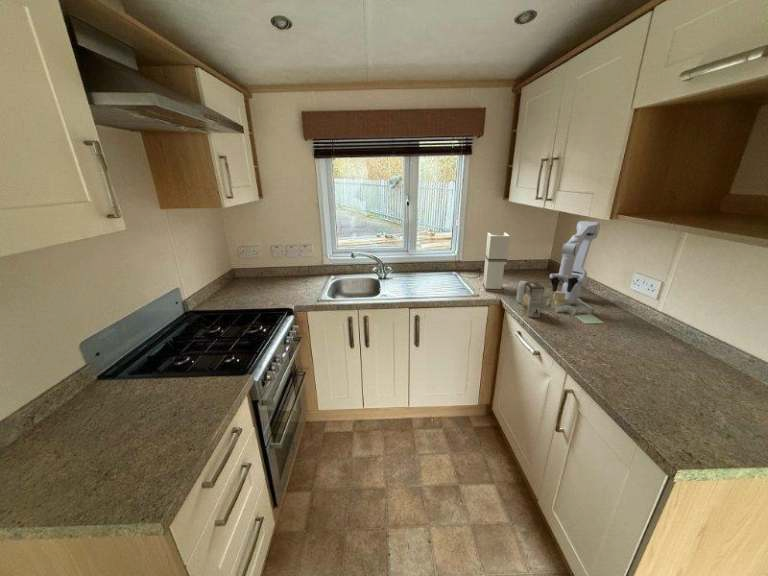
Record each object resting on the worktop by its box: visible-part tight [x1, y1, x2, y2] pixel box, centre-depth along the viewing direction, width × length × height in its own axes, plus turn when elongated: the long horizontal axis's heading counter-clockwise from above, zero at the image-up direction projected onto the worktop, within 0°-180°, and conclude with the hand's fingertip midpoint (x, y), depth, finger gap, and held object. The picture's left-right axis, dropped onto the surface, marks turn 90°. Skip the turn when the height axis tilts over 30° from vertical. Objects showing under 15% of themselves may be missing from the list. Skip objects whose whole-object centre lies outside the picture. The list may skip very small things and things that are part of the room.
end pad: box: [573, 314, 605, 325], centre depth 150 cm, size 9×9×1 cm
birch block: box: [550, 290, 566, 310], centre depth 162 cm, size 4×4×9 cm
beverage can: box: [515, 280, 528, 304], centre depth 171 cm, size 6×6×12 cm
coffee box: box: [521, 281, 545, 318], centre depth 156 cm, size 9×6×16 cm
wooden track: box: [546, 298, 595, 316], centre depth 161 cm, size 15×16×4 cm
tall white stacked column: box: [482, 232, 511, 293], centre depth 188 cm, size 11×11×35 cm
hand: (561, 291), depth 160 cm, fingers open, 7 cm apart
